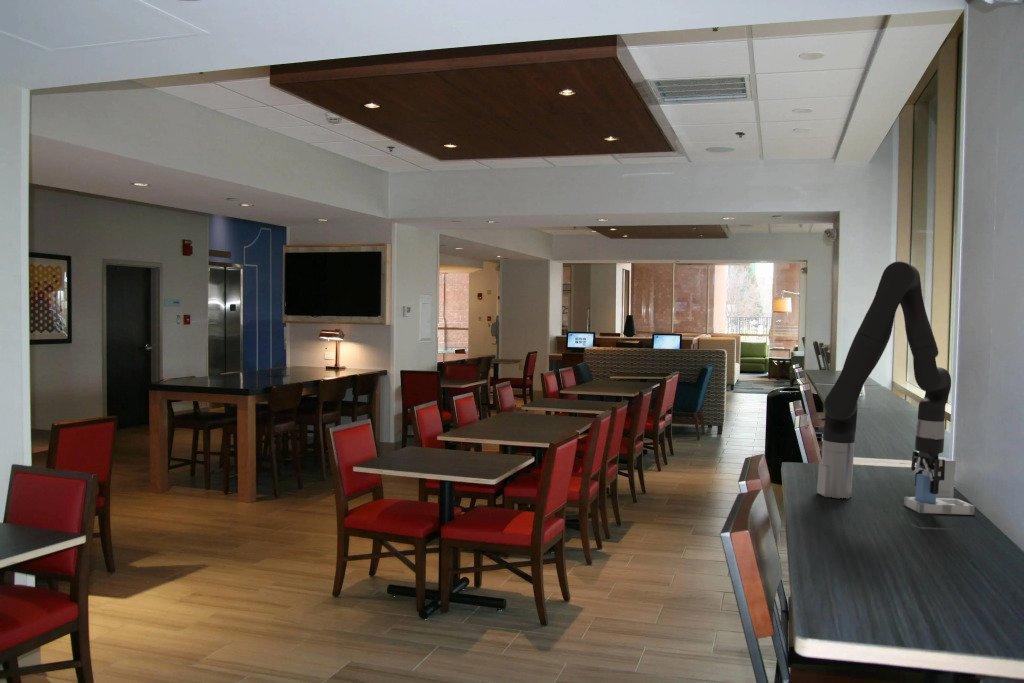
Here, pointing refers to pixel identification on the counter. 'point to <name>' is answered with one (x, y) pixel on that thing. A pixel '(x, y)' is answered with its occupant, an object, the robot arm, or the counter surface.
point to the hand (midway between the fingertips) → (926, 490)
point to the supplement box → (947, 480)
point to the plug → (924, 489)
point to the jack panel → (940, 506)
